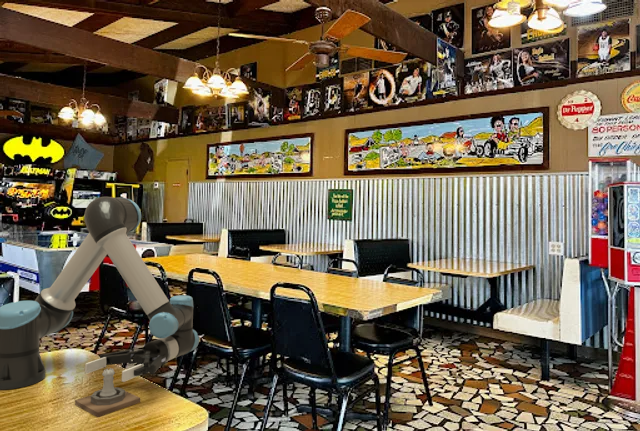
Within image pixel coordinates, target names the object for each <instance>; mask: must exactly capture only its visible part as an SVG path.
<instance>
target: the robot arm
mask: <svg viewBox="0 0 640 431" xmlns="http://www.w3.org/2000/svg"><path fill="white" fill-rule="evenodd" d="M141 221H142V212H141V208H140V207H139V205H138V204H137V203H136V202H134V200H132V199H129V198H126V197H121V196H120V197H114V196H101V197H97V198H94V199H93V200H91V201H90V203H89V204H87V206H86V208H85V211H84V223H85V225H86V229H87V231H88V234H87V235H86V236H85V237H84V238H83V239H84V240H82V241H81V244H80V245H79V246H78V247H77V249H76V250H75V252H74V254H72V256H71V258H70V259H69V261H68V262H67V263H66V264H65V266H64V267H63V269H62V270H61V272H60V273H59V274H58V275H57V278H56V279H54V280H55V281H53V283H52V284H51V286H50V287H47V288H43V289H41V291H40V292H39V293H38V296H37V297H36V298H35V299H34V300H19V301H16V302H15V301H14V302H9V303H6V304H4V305H1V306H0V390H12V389H19V388H25V387H28V386H32V385H35V384H37V383H39V382H41V381H43V380H44V379H45V378H46V367H45V365H44V361H43V360H42V357H41V354H40V339H41V338H44V337H46V336H49V335H51V334H54V333H58V332H59V331H61V330H62V329H64V328H65V327H67V326H68V325H69V323H70V322H71V321H72V319H73V316H74V309H75V308H76V301H75V299H77V297H78V296H79V294H80V293H81V292H82V290H83V288H85V286H86V284H87V283H88V282H89V280H90V279H91V277H92V276H93V275H94V273H95V271H97V269H98V268H99V267H100V265H101V263H102V262H103V261H104V259H105V258H106V257H107V256H108V257H109V259H110V261H111V262H112V263H113V265H114V266H115V268H116V269H117V272H119V274H120V275H121V277H122V279H123V280H124V282H125V283H126V285H127V287H128V288H129V289H130V291H131V293H132V294H133V296H134V297H135V299H136V301H137V302H138V304H139V306H140V307H141V308H142V310H143V312H144V313H145V315H147V317H148V319H149V324H148V326H149V327H148V328H149V329H148V330H149V332H150V334H151V335H152V336H153V337H155V338H157V339H154V340H151V341H149V342H146V344H145V345H144V346H143V348H142V349H141V348H140V349H137V350H135V349H134V348H129V349H125V350H119V351H114V352H109V353H108V352H107V353H102V354H99V358H97V359H94V360H92V361H89V362H86V363H84V374H85V375H86V374H87V375H88V374H90V373H93V372H95V371H98V370H101V369H105V368H106V367H107V366H109V365H110V366H111V365H119V364H128V365H133V364H137V365H135V366H132V367H130V368H127V369H124V370H121V382H123V383H125V382H127V381H130V380H132V379H134V378H137V377H139V376H141V375H143V374H144V375H146V374H148V373H149V374H150V375H155V374H156V372H157V371H158V370H159V368H161V367H162V365H165V364H166V363H168V361H171V360H173V359H176V358H178V357H180V356H183V355H187V354H189V353H190V352H192V351H194V350H195V349H197V347H198V345H199V342H200V337H199V335H198V332H197V331H196V330H195V329H194V328H193V326H194V325H193V324H194V323H193V319H194V300H193V297H192V296H190V295H184V294H183V295H174V296H171V298H169V299H168V297H167V295H166V294H165V293H164V291H163V288H161V286H160V285H159V283H158V282H157V280H156V279H155V277H154V276H153V274H152V272H151V271H150V269H149V268H148V266H147V265H146V262H144V260H143V258H142V256H141V255H140V253H139V252H138V250H137V249H136V247H135V246H134V244H133V243H132V241H131V239H130V237H128V234H129V233H131V232H133V231H134V230H136V229H137V228H138V227H139V226H140V223H141Z"/></svg>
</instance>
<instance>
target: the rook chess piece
mask: <svg viewBox="0 0 640 431" xmlns="http://www.w3.org/2000/svg"><path fill="white" fill-rule="evenodd" d="M115 374H116V371H115V370H114V368H111V367H110V368H106V369H104V370H103V372H102V374H101V375H102V377H103V378H102V381H103V384H102V388H101V389H102V390H101V389H100V390H101V393H100V396H101V397H99V398H109V397H113V396H116V394H117V392H116V390H115V388H116V387H115V386H114V379H115V378H114V375H115Z"/></svg>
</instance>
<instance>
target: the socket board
mask: <svg viewBox="0 0 640 431" xmlns="http://www.w3.org/2000/svg"><path fill="white" fill-rule="evenodd" d="M114 388H115V390H116V392H117V394H116V396H113V397H109V398H99V397H101V396H100V393H101V390H102V389H103V388H101V389H98V390H95V391H93V393H92V394H91V395H87V396H85V397H81V398H78V399H74V405H75V406H76V407H79V408H81V409H82V410H84V411H86V412H87V413H89V414H91V415H93V416H95V417H97V418H100V417H102V416H103V417H104V416H105V415H108V414H111V413H114V412H116V411H120V410H122V409H125V408H129V407H131V406H134V405H136V404H140V403H141V397H139V396H137V395H135V394H133V393H131V392H129V391H126V390H125V389H123V388H122V387H114Z"/></svg>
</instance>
